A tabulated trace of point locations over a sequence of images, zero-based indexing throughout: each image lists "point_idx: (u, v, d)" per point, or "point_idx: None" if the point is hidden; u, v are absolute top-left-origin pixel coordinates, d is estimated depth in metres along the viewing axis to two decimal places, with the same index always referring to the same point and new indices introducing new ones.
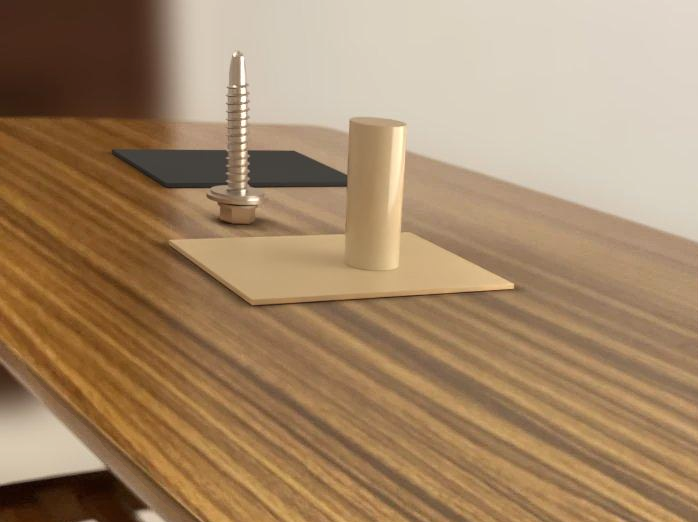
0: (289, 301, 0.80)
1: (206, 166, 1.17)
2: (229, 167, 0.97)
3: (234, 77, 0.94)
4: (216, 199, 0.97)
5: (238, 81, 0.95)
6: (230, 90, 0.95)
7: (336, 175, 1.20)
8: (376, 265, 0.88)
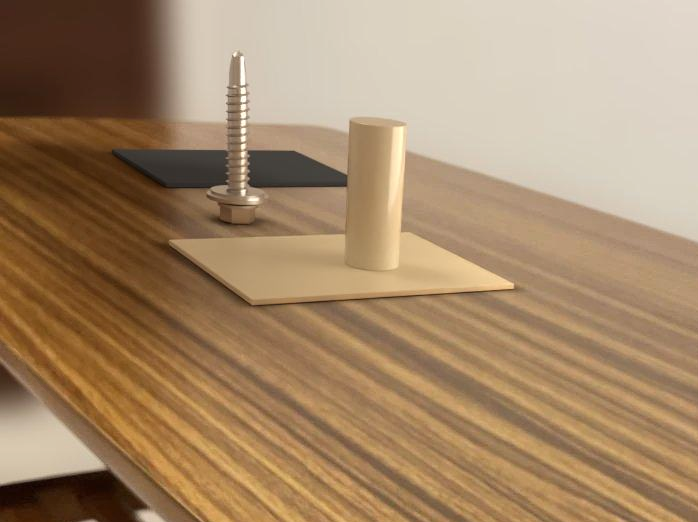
0: (289, 301, 0.80)
1: (206, 166, 1.17)
2: (229, 167, 0.97)
3: (234, 77, 0.94)
4: (216, 199, 0.97)
5: (238, 81, 0.95)
6: (230, 90, 0.95)
7: (336, 175, 1.20)
8: (376, 265, 0.88)
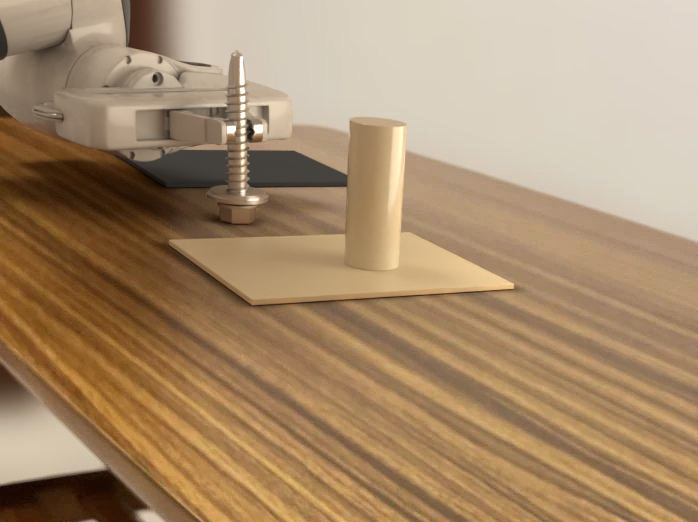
0: (289, 301, 0.80)
1: (206, 166, 1.17)
2: (229, 167, 0.97)
3: (233, 77, 0.94)
4: (216, 199, 0.97)
5: (237, 81, 0.95)
6: (229, 90, 0.95)
7: (336, 175, 1.20)
8: (376, 265, 0.88)
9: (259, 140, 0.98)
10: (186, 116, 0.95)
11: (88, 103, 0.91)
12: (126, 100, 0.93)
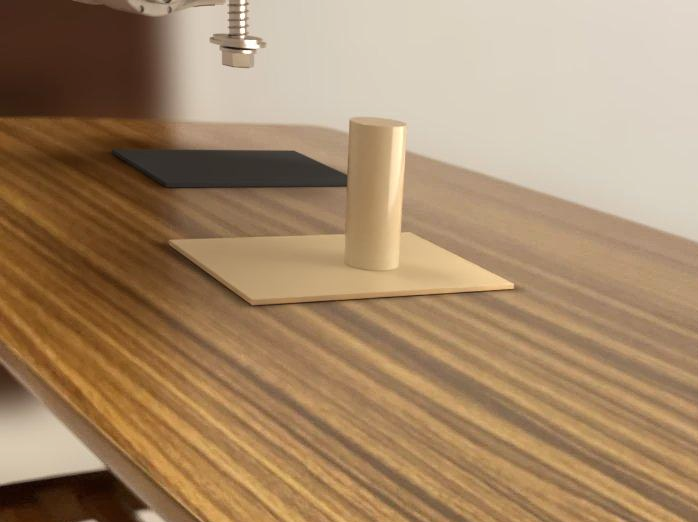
0: (289, 301, 0.80)
1: (206, 166, 1.17)
2: (230, 13, 1.06)
3: None
4: (218, 42, 1.06)
5: None
6: None
7: (336, 175, 1.20)
8: (376, 265, 0.88)
9: None
10: None
11: None
12: None
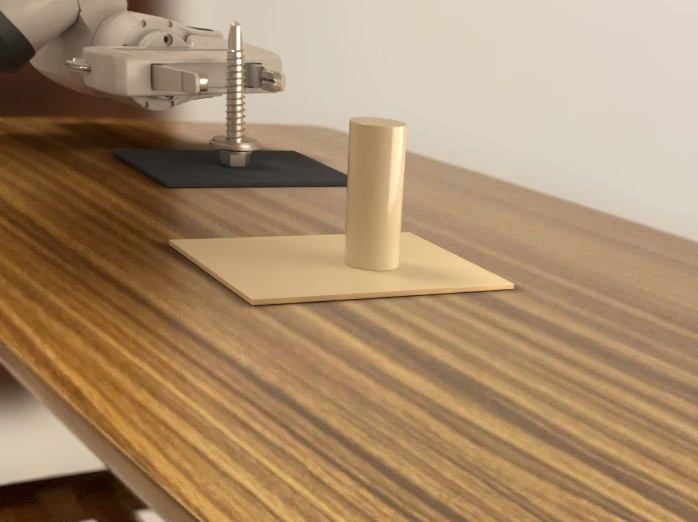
0: (289, 301, 0.80)
1: (206, 166, 1.17)
2: (228, 119, 1.17)
3: (232, 43, 1.14)
4: (217, 145, 1.16)
5: (235, 46, 1.14)
6: (229, 54, 1.14)
7: (336, 175, 1.20)
8: (376, 265, 0.88)
9: (278, 89, 1.19)
10: (165, 69, 1.12)
11: (112, 57, 1.10)
12: (143, 55, 1.12)
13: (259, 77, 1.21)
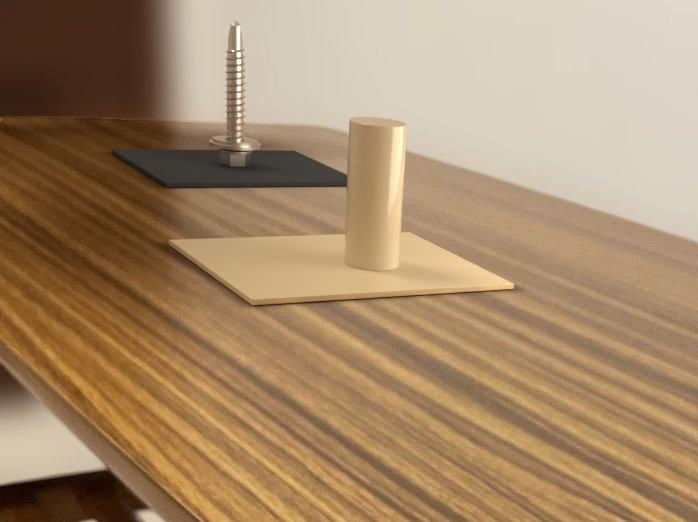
0: (289, 301, 0.80)
1: (206, 166, 1.17)
2: (228, 119, 1.17)
3: (232, 43, 1.14)
4: (217, 145, 1.16)
5: (235, 46, 1.14)
6: (229, 54, 1.14)
7: (336, 175, 1.20)
8: (376, 265, 0.88)
9: None
10: None
11: None
12: None
13: None
